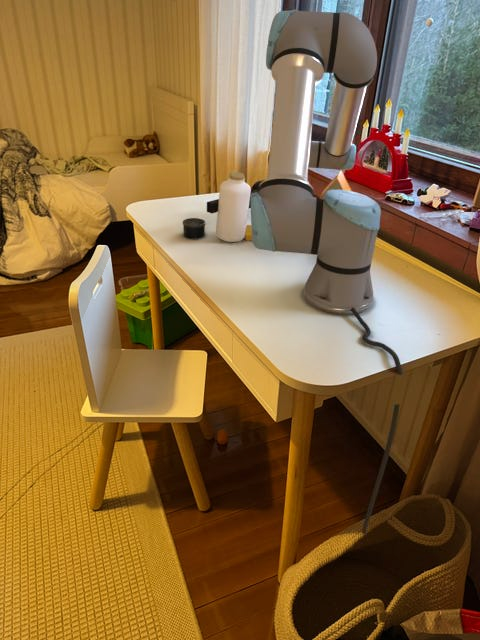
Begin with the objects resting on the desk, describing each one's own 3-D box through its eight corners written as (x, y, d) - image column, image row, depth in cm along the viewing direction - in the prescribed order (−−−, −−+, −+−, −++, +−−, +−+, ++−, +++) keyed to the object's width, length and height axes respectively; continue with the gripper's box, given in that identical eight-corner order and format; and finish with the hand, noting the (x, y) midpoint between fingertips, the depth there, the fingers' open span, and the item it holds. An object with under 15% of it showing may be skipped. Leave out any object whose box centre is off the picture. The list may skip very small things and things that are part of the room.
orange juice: (312, 250, 130) (321, 176, 119) (317, 238, 137) (326, 167, 126) (340, 254, 128) (352, 179, 117) (344, 242, 135) (356, 171, 125)
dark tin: (205, 239, 134) (205, 225, 132) (182, 239, 133) (182, 225, 131) (205, 231, 139) (205, 217, 137) (183, 230, 139) (182, 217, 137)
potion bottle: (235, 246, 131) (242, 182, 120) (209, 237, 134) (215, 173, 123) (249, 236, 137) (258, 175, 126) (225, 227, 140) (231, 166, 129)
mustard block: (266, 240, 135) (266, 235, 134) (245, 240, 134) (245, 235, 134) (263, 230, 142) (263, 225, 141) (243, 229, 141) (243, 225, 140)
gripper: (284, 210, 141) (225, 228, 127) (252, 198, 149) (193, 214, 135) (286, 184, 137) (226, 200, 123) (253, 174, 145) (192, 188, 131)
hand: (209, 207), depth 129 cm, fingers closed on potion bottle
